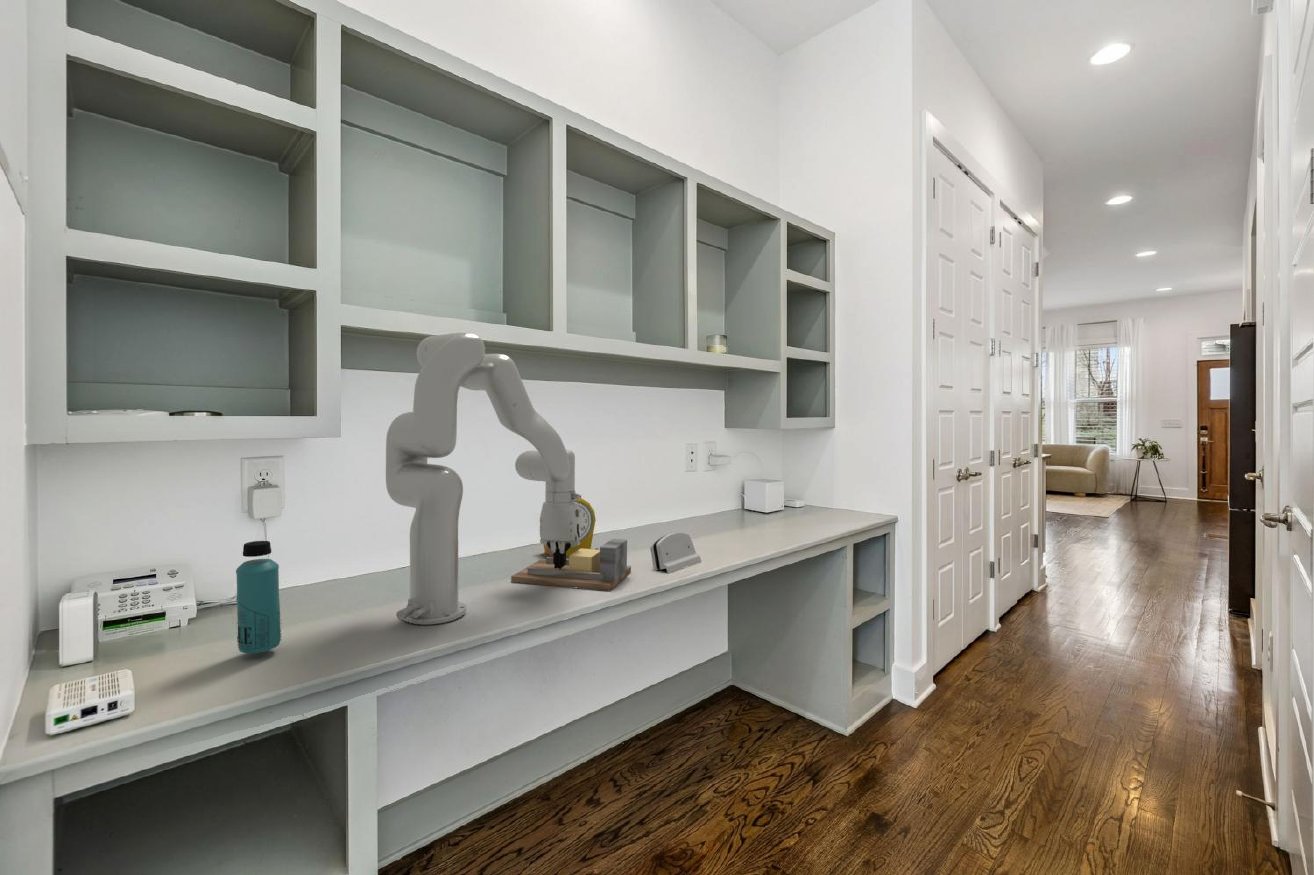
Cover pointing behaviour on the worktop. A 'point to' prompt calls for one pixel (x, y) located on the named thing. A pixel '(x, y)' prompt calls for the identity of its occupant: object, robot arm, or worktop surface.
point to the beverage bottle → (258, 600)
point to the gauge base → (605, 579)
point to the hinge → (673, 552)
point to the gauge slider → (585, 560)
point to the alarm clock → (586, 528)
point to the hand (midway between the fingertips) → (559, 567)
